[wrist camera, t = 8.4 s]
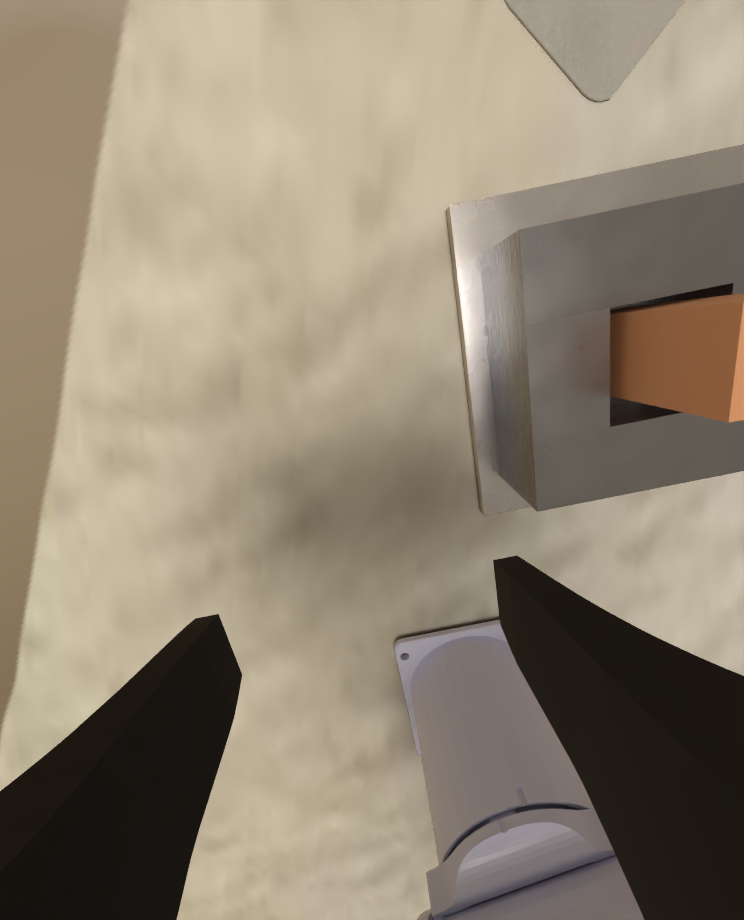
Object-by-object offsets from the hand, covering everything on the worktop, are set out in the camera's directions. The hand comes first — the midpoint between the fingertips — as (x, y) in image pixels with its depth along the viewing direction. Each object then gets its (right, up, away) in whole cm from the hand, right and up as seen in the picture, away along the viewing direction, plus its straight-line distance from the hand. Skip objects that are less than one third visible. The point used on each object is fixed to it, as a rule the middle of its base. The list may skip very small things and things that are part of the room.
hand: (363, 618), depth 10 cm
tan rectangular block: (+10, +9, +7) cm, 16 cm away
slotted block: (+10, +9, +8) cm, 16 cm away
